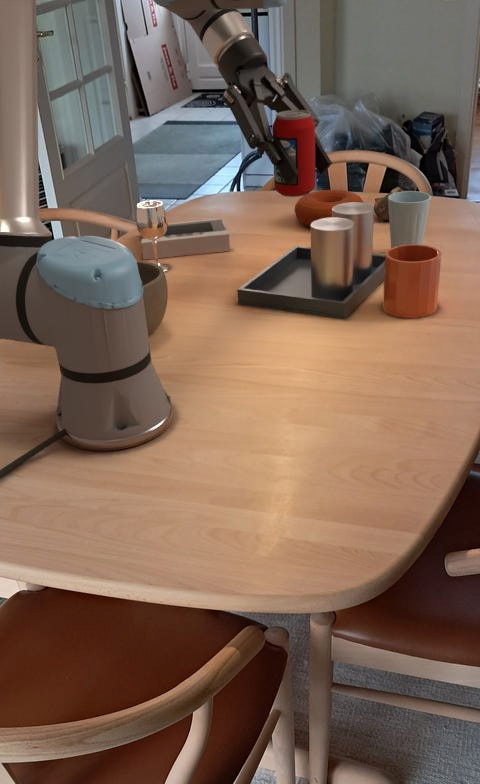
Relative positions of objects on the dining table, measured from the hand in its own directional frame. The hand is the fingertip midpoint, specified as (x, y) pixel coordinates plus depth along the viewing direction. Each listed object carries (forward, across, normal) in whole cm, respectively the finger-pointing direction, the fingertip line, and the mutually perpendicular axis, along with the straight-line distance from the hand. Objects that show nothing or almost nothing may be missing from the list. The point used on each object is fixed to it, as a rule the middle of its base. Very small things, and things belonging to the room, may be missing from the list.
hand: (310, 173), depth 133 cm
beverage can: (0, 0, -5) cm, 5 cm away
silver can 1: (+17, 0, -10) cm, 20 cm away
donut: (-4, -32, -32) cm, 45 cm away
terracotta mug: (+26, -6, -2) cm, 27 cm away
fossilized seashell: (+3, -42, -25) cm, 49 cm away
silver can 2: (+15, -8, -12) cm, 21 cm away
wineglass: (-8, +10, -36) cm, 38 cm away
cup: (+14, -25, -14) cm, 32 cm away
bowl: (+6, +33, -22) cm, 40 cm away
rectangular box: (-14, -3, -42) cm, 44 cm away
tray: (+13, -3, -14) cm, 20 cm away
